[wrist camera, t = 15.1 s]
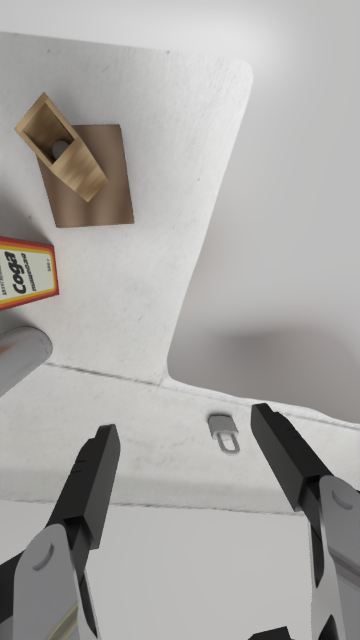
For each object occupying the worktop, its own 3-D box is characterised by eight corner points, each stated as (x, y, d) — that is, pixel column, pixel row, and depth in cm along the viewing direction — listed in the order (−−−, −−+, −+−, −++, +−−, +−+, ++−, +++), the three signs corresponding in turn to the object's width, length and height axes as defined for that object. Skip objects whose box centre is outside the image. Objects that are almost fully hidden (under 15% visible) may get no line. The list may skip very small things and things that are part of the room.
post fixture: (59, 228, 32) (26, 216, 24) (33, 131, 27) (-18, 79, 20) (134, 223, 32) (125, 210, 25) (120, 129, 28) (105, 78, 20)
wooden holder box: (88, 202, 30) (53, 173, 20) (63, 174, 28) (13, 128, 19) (108, 181, 29) (82, 140, 20) (84, 150, 28) (43, 91, 18)
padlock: (207, 424, 51) (217, 460, 41) (210, 414, 50) (221, 449, 40) (229, 425, 52) (243, 461, 42) (232, 415, 51) (248, 450, 41)
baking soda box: (59, 294, 35) (-19, 316, 20) (25, 291, 34) (-84, 312, 19) (53, 245, 32) (-43, 228, 17) (16, 241, 32) (-119, 219, 16)
